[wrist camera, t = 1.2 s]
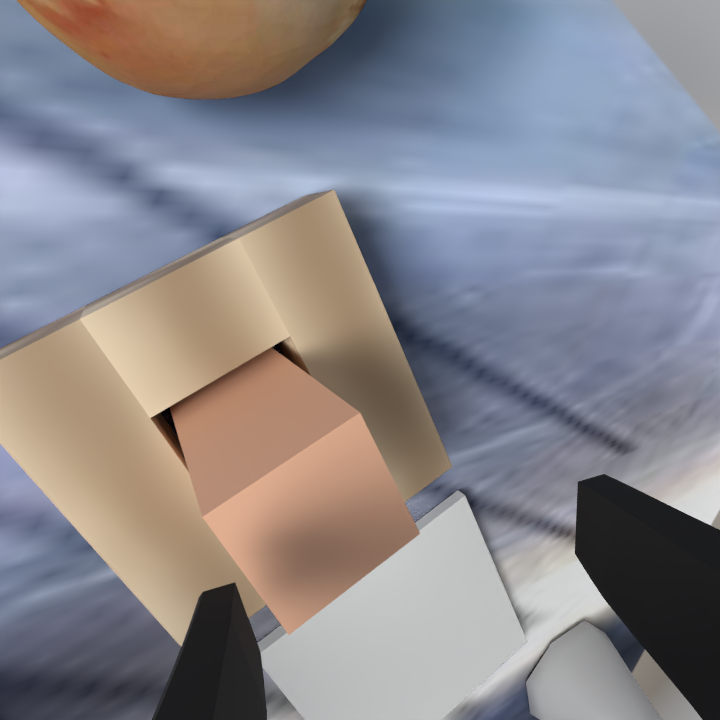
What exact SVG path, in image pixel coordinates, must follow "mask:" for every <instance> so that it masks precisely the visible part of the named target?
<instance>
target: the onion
mask: <svg viewBox="0 0 720 720" xmlns="http://www.w3.org/2000/svg"><path fill="white" fill-rule="evenodd" d="M17 1H18V2H19V3H20V4H21V6H22V7H23V8H24V9H25V10H26V11H27V12H28V13H29V14H30V15H31V16H32V17H33V18H35V19H36V20H37V21H38V22H39V23H40V24H41V25H42V26H43V27H45V28H46V29H47V30H48V31H49V32H50V33H51V34H53V35H54V36H55V37H56V38H58V39H59V40H60V41H61V42H63V43H64V44H65V45H67V46H68V47H69V48H70V49H72V50H73V51H74V52H76V53H77V54H78V55H80V56H81V57H82V58H84V59H85V60H86V61H88V62H89V63H91V64H92V65H94V66H95V67H97V68H98V69H99V70H101V71H102V72H104V73H106V74H107V75H109V76H111V77H113V78H115V79H117V80H119V81H121V82H123V83H126V84H128V85H130V86H133V87H135V88H138V89H140V90H143V91H146V92H149V93H152V94H156V95H161V96H167V97H175V98H184V99H225V98H233V97H239V96H244V95H248V94H252V93H257V92H260V91H263V90H265V89H268V88H271V87H273V86H275V85H278V84H279V83H281V82H283V81H285V80H286V79H288V78H289V77H291V76H292V75H293V74H295V73H296V72H297V71H298V70H300V69H301V68H302V67H303V66H305V65H306V64H307V63H308V62H310V61H311V60H312V59H313V58H315V57H316V56H317V55H319V54H320V53H321V52H323V51H324V50H325V49H327V48H328V47H329V46H331V45H332V44H333V43H334V42H335V41H336V40H337V39H338V38H339V37H340V36H341V35H342V34H343V33H344V32H345V31H346V30H347V29H348V27H349V26H350V25H351V24H352V23H353V22H354V20H355V19H356V17H357V16H358V15H359V13H360V12H361V10H362V8H363V7H364V5H365V3H366V1H367V0H17Z"/></svg>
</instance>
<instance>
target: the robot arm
mask: <svg viewBox="0 0 720 720" xmlns="http://www.w3.org/2000/svg"><path fill="white" fill-rule="evenodd" d="M575 554H576V556H577V558H578V559H579V561H580V562H581V564H582V565H583V567H584V569H585V570H586V572H587V573H588V575H589V577H590V578H591V580H592V581H593V583H594V584H595V586H596V587H597V589H598V590H599V592H600V593H601V595H602V596H603V598H604V599H605V600H606V602H607V603H608V604H609V605H610V607H611V608H612V609H613V610H614V612H615V613H616V614H617V615H618V617H619V618H620V619H621V620H622V621H623V623H624V624H625V625H626V626H627V628H628V629H629V630H630V631H631V633H632V634H633V635H634V636H635V637H636V639H637V640H638V641H639V642H640V643H641V645H642V646H643V647H644V648H645V649H646V651H647V652H648V653H649V654H650V656H651V657H652V658H653V659H654V660H655V662H656V663H657V664H658V665H659V666H660V668H661V669H662V670H663V671H664V672H665V674H666V675H667V676H668V677H669V678H670V680H671V681H672V682H673V683H674V685H675V686H676V687H677V688H678V689H679V691H680V692H681V693H682V694H683V695H684V697H685V698H686V699H687V700H688V701H689V703H690V704H691V705H692V706H693V708H694V709H695V710H696V711H697V713H698V714H699V715H700V717H701V718H702V719H703V720H720V530H719V529H716V528H714V527H712V526H710V525H708V524H706V523H704V522H702V521H700V520H698V519H696V518H693V517H691V516H689V515H687V514H685V513H683V512H681V511H679V510H677V509H675V508H673V507H671V506H669V505H667V504H665V503H663V502H661V501H659V500H657V499H655V498H653V497H651V496H649V495H647V494H645V493H643V492H641V491H639V490H637V489H635V488H632V487H630V486H628V485H626V484H624V483H622V482H620V481H618V480H616V479H614V478H611V477H609V476H607V475H605V474H603V475H599V476H596V477H593V478H589V479H586V480H582V481H579V482H578V493H577V517H576V541H575ZM152 720H267V710H266V700H265V689H264V679H263V670H262V660H261V652H260V649H259V646H258V644H257V641H256V638H255V635H254V633H253V630H252V627H251V624H250V622H249V619H248V616H247V613H246V611H245V608H244V605H243V602H242V600H241V597H240V594H239V591H238V588H237V586H236V583H235V582H234V583H231V584H227V585H224V586H220V587H217V588H214V589H210V590H207V591H203V592H202V594H201V595H200V596H199V598H198V601H197V604H196V607H195V610H194V613H193V616H192V619H191V622H190V625H189V628H188V630H187V633H186V636H185V639H184V641H183V644H182V647H181V649H180V652H179V655H178V657H177V660H176V662H175V665H174V668H173V670H172V673H171V675H170V677H169V680H168V682H167V685H166V687H165V689H164V692H163V694H162V697H161V699H160V701H159V704H158V706H157V709H156V711H155V713H154V716H153V718H152Z"/></svg>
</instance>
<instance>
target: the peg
mask: <svg viewBox="0 0 720 720" xmlns="http://www.w3.org/2000/svg"><path fill="white" fill-rule="evenodd" d="M170 410H171V414H172V417H173V420H174V424H175V427H176V430H177V434H178V437H179V441H180V444H181V447H182V451H183V454H184V457H185V461H186V464H187V467H188V471H189V474H190V478H191V481H192V484H193V488H194V491H195V494H196V498H197V501H198V505H199V508H200V511H201V515H202V517H203V519H204V520H205V522H206V523H207V524H208V526H209V527H210V528H211V530H212V531H213V532H214V534H215V535H216V536H217V538H218V539H219V541H220V542H221V543H222V545H223V546H224V547H225V549H226V550H227V551H228V553H229V554H230V556H231V557H232V558H233V560H234V561H235V562H236V564H237V565H238V566H239V568H240V569H241V571H242V572H243V573H244V575H245V576H246V577H247V579H248V580H249V581H250V583H251V584H252V586H253V587H254V588H255V590H256V591H257V592H258V594H259V595H260V596H261V598H262V599H263V601H264V602H265V603H266V605H267V606H268V607H269V609H270V610H271V611H272V613H273V614H274V616H275V617H276V618H277V620H278V621H279V622H280V624H281V625H282V626H283V628H284V629H285V631H286V632H287V633H288V635H290V634H291V633H292V632H293V631H295V630H296V629H297V628H299V627H300V626H301V625H303V624H304V623H305V622H306V621H308V620H309V619H310V618H312V617H313V616H314V615H316V614H317V613H318V612H319V611H321V610H322V609H323V608H325V607H326V606H327V605H328V604H330V603H331V602H332V601H334V600H335V599H336V598H338V597H339V596H340V595H341V594H343V593H344V592H345V591H347V590H348V589H349V588H351V587H352V586H353V585H354V584H356V583H357V582H358V581H360V580H361V579H362V578H364V577H365V576H366V575H367V574H369V573H370V572H371V571H373V570H374V569H375V568H376V567H378V566H379V565H380V564H382V563H383V562H384V561H386V560H387V559H388V558H389V557H391V556H392V555H393V554H395V553H396V552H397V551H399V550H400V549H401V548H402V547H404V546H405V545H406V544H408V543H409V542H410V541H411V540H413V539H414V538H415V537H417V536H418V535H419V534H420V532H419V530H418V528H417V526H416V524H415V522H414V520H413V518H412V516H411V514H410V512H409V510H408V508H407V506H406V504H405V502H404V500H403V498H402V496H401V494H400V492H399V490H398V488H397V486H396V484H395V482H394V480H393V478H392V476H391V474H390V472H389V470H388V468H387V466H386V464H385V462H384V460H383V458H382V456H381V454H380V452H379V450H378V448H377V446H376V444H375V442H374V440H373V438H372V436H371V433H370V431H369V429H368V427H367V425H366V423H365V421H364V419H363V417H362V415H361V413H360V412H359V411H357V410H356V409H355V408H353V407H352V406H351V405H349V404H348V403H347V402H345V401H344V400H342V399H341V398H340V397H338V396H337V395H336V394H334V393H333V392H332V391H330V390H329V389H328V388H326V387H325V386H323V385H322V384H321V383H319V382H318V381H317V380H315V379H314V378H313V377H311V376H310V375H309V374H307V373H306V372H304V371H303V370H302V369H300V368H299V367H298V366H296V365H295V364H294V363H292V362H291V361H290V360H288V359H287V358H286V357H284V356H283V355H281V354H280V353H279V352H277V351H276V350H275V349H273V348H272V347H271V348H269V349H267V350H266V351H264V352H262V353H260V354H259V355H257V356H255V357H254V358H252V359H250V360H248V361H247V362H245V363H243V364H242V365H240V366H238V367H237V368H235V369H233V370H231V371H230V372H228V373H226V374H225V375H223V376H221V377H219V378H218V379H216V380H214V381H213V382H211V383H209V384H208V385H206V386H204V387H202V388H201V389H199V390H197V391H196V392H194V393H192V394H190V395H189V396H187V397H185V398H184V399H182V400H180V401H179V402H177V403H175V404H173V405H172V406H170Z"/></svg>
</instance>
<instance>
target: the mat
mask: <svg viewBox="0 0 720 720" xmlns="http://www.w3.org/2000/svg"><path fill="white" fill-rule="evenodd" d="M415 524H416V526H417V528H418V530H419V532H420V534H419V535H418V536H417V537H415V538H414V539H413V540H411V541H410V542H409V543H408V544H406V545H405V546H404V547H402V548H401V549H400V550H399V551H397V552H396V553H395V554H393V555H392V556H391V557H389V558H388V559H387V560H386V561H384V562H383V563H382V564H380V565H379V566H378V567H376V568H375V569H374V570H373V571H371V572H370V573H369V574H367V575H366V576H365V577H364V578H362V579H361V580H360V581H358V582H357V583H356V584H354V585H353V586H352V587H351V588H349V589H348V590H347V591H345V592H344V593H343V594H341V595H340V596H339V597H338V598H336V599H335V600H334V601H332V602H331V603H330V604H328V605H327V606H326V607H325V608H323V609H322V610H321V611H319V612H318V613H317V614H316V615H314V616H313V617H312V618H310V619H309V620H308V621H306V622H305V623H304V624H303V625H301V626H300V627H299V628H297V629H296V630H295V631H293V632H292V633H291V634H290V635H288V633H287V632H286V631H285V629H284V628H283V626H282V625H280V626H279V627H278V628H276V629H275V630H274V631H272V632H271V633H270V634H268V635H267V636H266V637H264V638H263V639H262V640H261V641H259V642H258V643H257V644H258V646H259V649H260V652H261V660H262V667H263V669H264V670H265V671H266V672H267V674H268V675H269V676H270V677H271V679H272V680H273V681H274V682H275V684H276V685H277V686H278V687H279V689H280V690H281V691H282V692H283V694H284V695H285V696H286V697H287V699H288V700H289V701H290V702H291V703H292V705H293V706H294V707H295V708H296V710H297V711H298V712H299V713H300V715H301V716H302V717H303V718H304V720H442V719H443V718H444V717H445V716H446V715H447V714H448V713H449V712H451V711H452V710H453V709H454V708H455V707H456V706H457V705H458V704H459V703H460V702H462V701H463V700H464V699H465V698H466V697H467V696H468V695H469V694H470V693H471V692H473V691H474V690H475V689H476V688H477V687H478V686H479V685H480V684H481V683H482V682H483V681H485V680H486V679H487V678H488V677H489V676H490V675H491V674H492V673H493V672H494V671H496V670H497V669H498V668H499V667H500V666H501V665H502V664H503V663H504V662H505V661H506V660H508V659H509V658H510V657H511V656H512V655H513V654H514V653H515V652H516V651H517V650H519V649H520V648H521V647H522V646H523V645H524V644H525V643H526V642H527V640H526V637H525V635H524V633H523V630H522V628H521V626H520V623H519V621H518V618H517V616H516V614H515V611H514V609H513V607H512V604H511V602H510V600H509V597H508V595H507V593H506V590H505V588H504V586H503V583H502V581H501V579H500V576H499V574H498V572H497V569H496V567H495V565H494V562H493V560H492V557H491V555H490V553H489V550H488V548H487V546H486V543H485V541H484V539H483V536H482V534H481V532H480V529H479V527H478V525H477V522H476V520H475V518H474V515H473V513H472V511H471V508H470V506H469V504H468V501H467V499H466V496H465V495H464V494H462V493H461V492H460V491H458V490H457V491H456V492H455V493H453V494H452V495H451V496H449V497H448V498H447V499H445V500H444V501H443V502H442V503H440V504H439V505H438V506H436V507H435V508H434V509H432V510H431V511H430V512H428V513H427V514H426V515H424V516H423V517H422V518H421V519H419V520H418V521H417V522H415Z"/></svg>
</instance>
